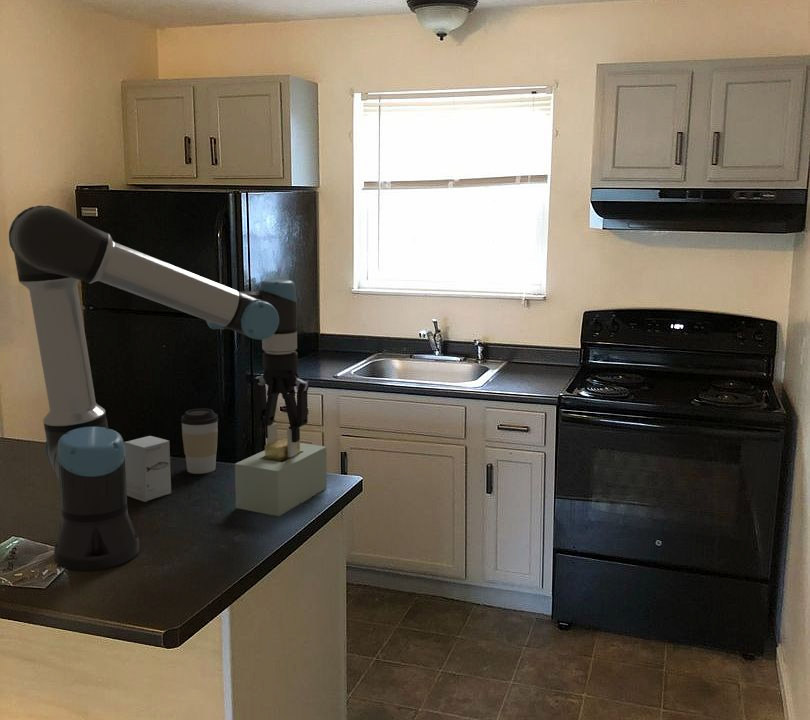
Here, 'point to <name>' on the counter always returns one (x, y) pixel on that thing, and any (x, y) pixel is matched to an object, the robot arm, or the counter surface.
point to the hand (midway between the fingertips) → (282, 453)
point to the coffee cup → (200, 440)
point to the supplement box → (147, 468)
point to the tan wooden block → (278, 450)
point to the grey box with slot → (280, 480)
